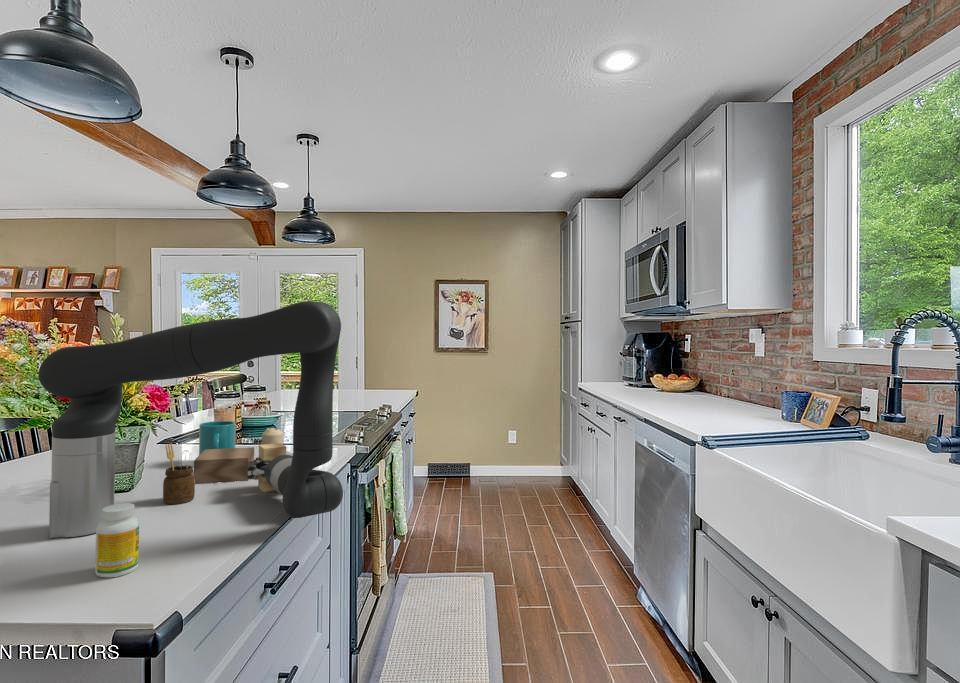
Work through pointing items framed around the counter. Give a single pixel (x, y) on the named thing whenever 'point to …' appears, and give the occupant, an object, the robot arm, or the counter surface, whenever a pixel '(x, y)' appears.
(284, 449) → the oak pillar
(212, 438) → the cup
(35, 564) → the counter surface
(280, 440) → the candle
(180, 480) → the utensil holder
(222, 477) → the walnut block
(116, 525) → the supplement bottle
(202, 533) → the counter surface
